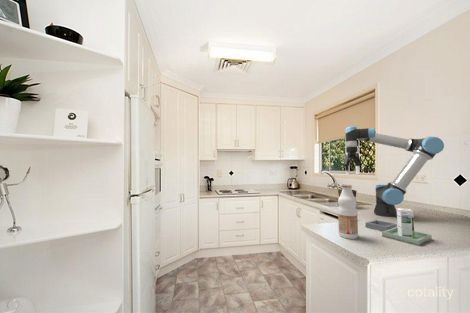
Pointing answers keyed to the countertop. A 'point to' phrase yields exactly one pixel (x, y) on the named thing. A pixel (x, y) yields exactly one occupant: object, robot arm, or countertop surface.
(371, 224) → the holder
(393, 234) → the tray
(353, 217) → the fruit juice
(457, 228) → the countertop surface
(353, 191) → the plant pot
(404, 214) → the syrup box
